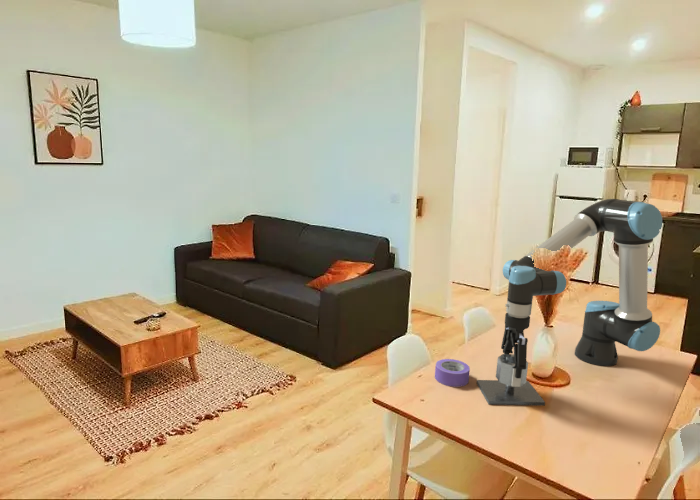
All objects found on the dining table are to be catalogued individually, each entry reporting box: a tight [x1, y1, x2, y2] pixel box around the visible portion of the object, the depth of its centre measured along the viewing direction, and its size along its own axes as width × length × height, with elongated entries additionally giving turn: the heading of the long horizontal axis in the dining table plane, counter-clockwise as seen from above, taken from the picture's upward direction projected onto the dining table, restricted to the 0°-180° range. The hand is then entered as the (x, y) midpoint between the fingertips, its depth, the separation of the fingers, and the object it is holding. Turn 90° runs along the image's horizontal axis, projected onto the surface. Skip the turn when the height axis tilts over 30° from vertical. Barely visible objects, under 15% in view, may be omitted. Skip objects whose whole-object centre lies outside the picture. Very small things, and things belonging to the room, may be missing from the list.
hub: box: [495, 353, 529, 386], centre depth 154 cm, size 9×9×7 cm
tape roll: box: [434, 358, 471, 388], centre depth 165 cm, size 12×12×5 cm
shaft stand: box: [476, 363, 546, 407], centre depth 155 cm, size 18×14×11 cm
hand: (510, 378), depth 155 cm, fingers closed on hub, 9 cm apart
